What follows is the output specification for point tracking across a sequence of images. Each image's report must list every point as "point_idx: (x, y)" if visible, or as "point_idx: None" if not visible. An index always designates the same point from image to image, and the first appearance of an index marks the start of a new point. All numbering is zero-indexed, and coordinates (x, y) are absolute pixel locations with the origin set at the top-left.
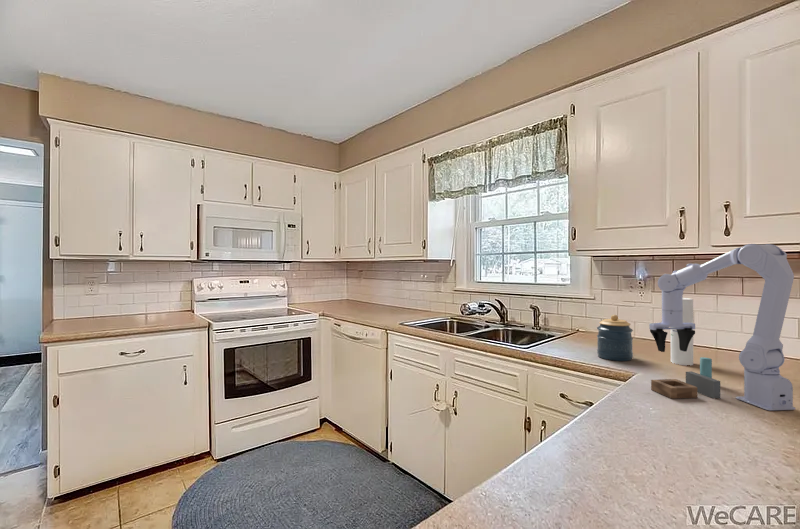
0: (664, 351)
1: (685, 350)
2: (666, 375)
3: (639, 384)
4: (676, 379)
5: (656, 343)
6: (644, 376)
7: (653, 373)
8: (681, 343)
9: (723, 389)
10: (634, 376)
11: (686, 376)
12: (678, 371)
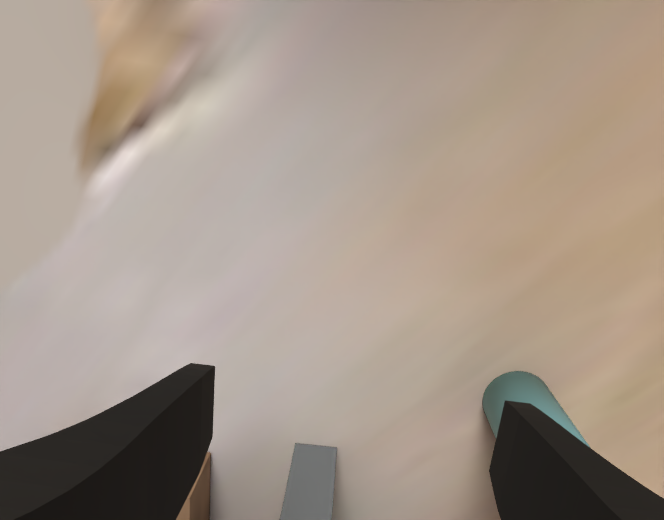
0: (207, 443)
1: (498, 485)
2: (410, 184)
3: (46, 333)
4: (186, 506)
5: (127, 404)
6: (210, 174)
7: (351, 109)
8: (539, 489)
9: (495, 510)
10: (130, 159)
11: (284, 502)
12: (632, 93)
